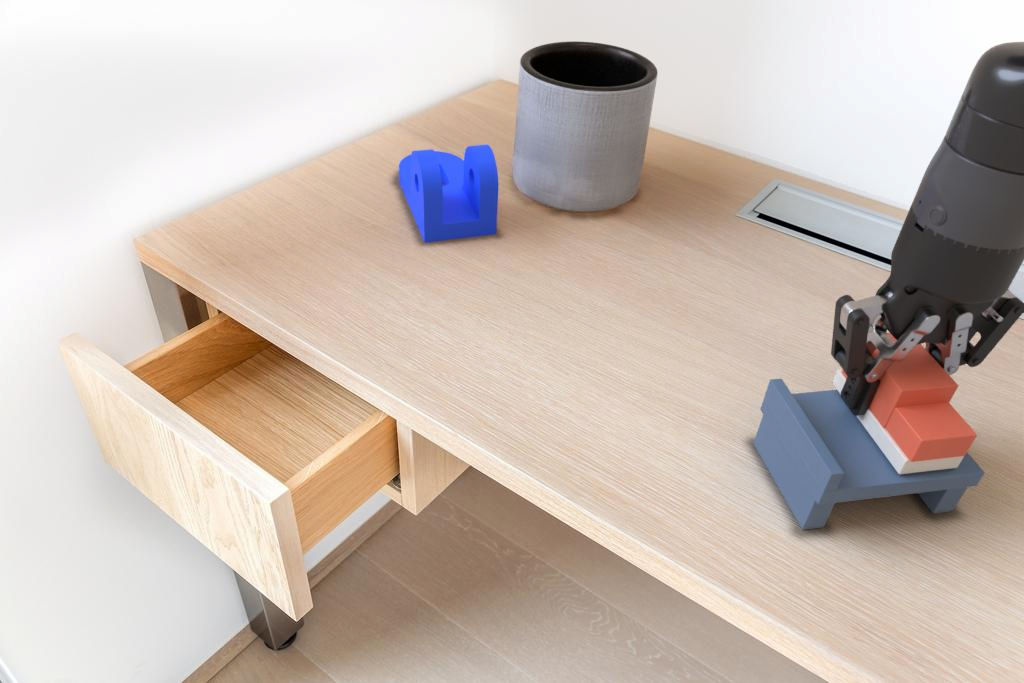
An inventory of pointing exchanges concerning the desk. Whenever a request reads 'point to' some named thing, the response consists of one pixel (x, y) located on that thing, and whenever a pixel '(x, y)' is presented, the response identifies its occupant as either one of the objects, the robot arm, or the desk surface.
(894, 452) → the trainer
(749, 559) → the desk surface
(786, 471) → the shoe shelf
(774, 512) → the desk surface
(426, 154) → the bracket
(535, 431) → the desk surface
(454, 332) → the desk surface
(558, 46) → the planter
